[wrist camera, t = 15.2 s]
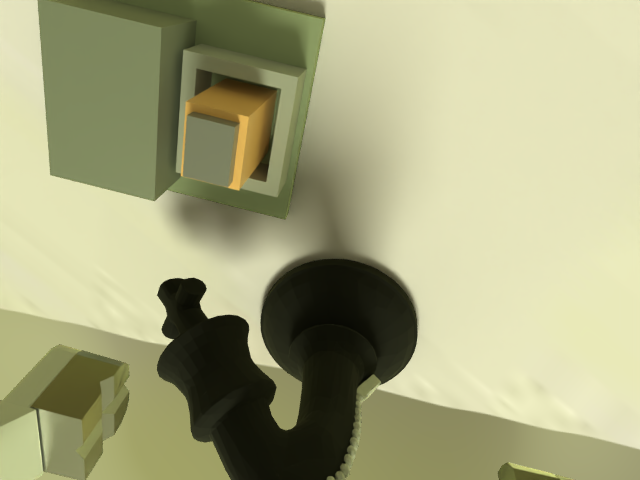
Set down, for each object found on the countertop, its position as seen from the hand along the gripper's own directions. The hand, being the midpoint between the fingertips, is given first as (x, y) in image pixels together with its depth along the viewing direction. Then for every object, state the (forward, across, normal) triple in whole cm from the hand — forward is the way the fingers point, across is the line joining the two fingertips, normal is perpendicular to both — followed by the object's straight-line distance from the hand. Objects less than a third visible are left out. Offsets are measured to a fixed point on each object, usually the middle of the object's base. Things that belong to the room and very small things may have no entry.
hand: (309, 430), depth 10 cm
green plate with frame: (+31, +14, +3) cm, 34 cm away
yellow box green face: (+30, +9, +3) cm, 31 cm away
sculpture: (+31, +2, +20) cm, 38 cm away
